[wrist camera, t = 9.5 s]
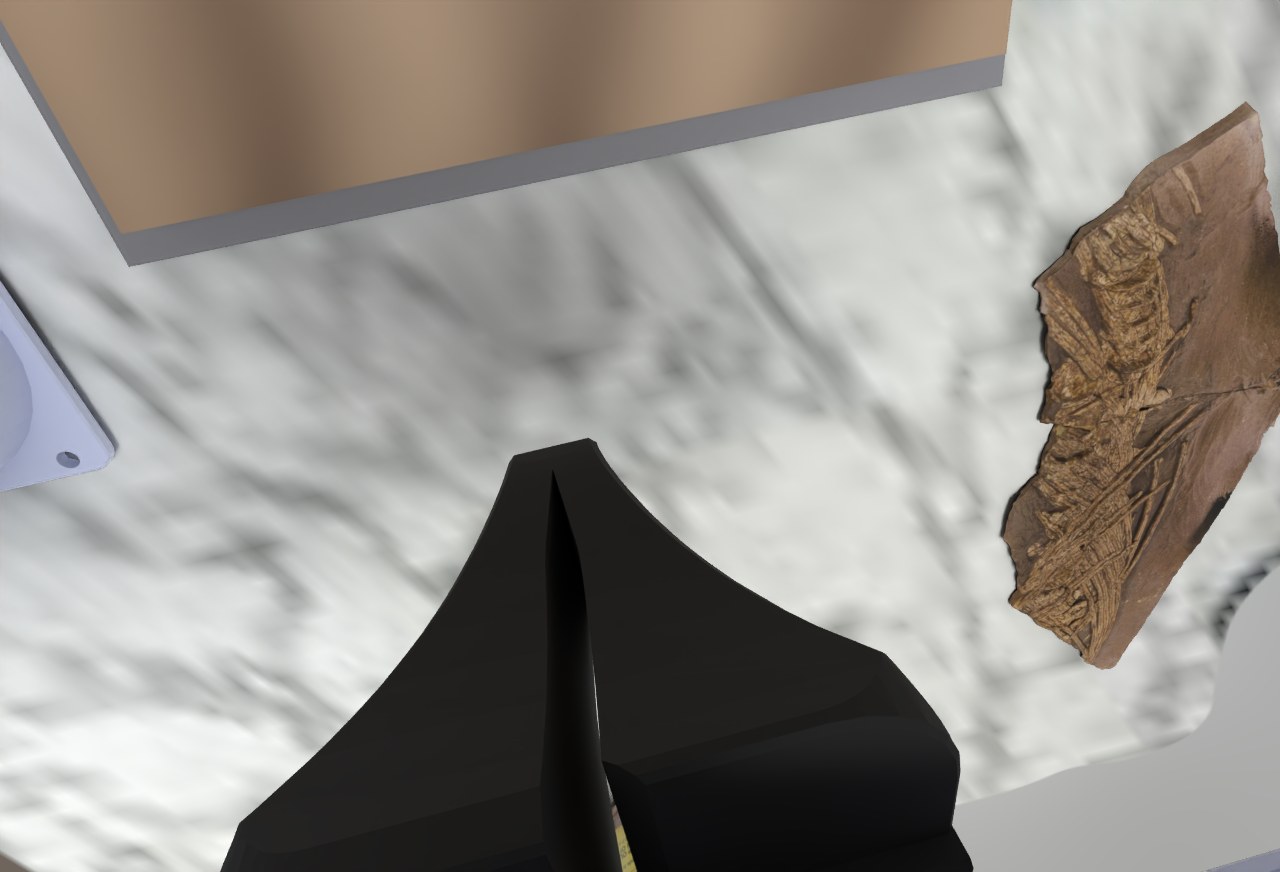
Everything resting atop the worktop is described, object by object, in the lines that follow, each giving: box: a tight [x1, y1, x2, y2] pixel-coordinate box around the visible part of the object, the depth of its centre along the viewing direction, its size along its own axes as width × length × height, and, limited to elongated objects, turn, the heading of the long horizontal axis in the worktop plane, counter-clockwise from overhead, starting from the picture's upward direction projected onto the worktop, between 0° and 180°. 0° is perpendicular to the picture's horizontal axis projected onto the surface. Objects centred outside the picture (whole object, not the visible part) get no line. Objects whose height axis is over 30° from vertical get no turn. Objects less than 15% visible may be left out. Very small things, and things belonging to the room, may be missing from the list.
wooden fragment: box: [1004, 102, 1280, 670], centre depth 27 cm, size 26×11×1 cm, turn 11°
